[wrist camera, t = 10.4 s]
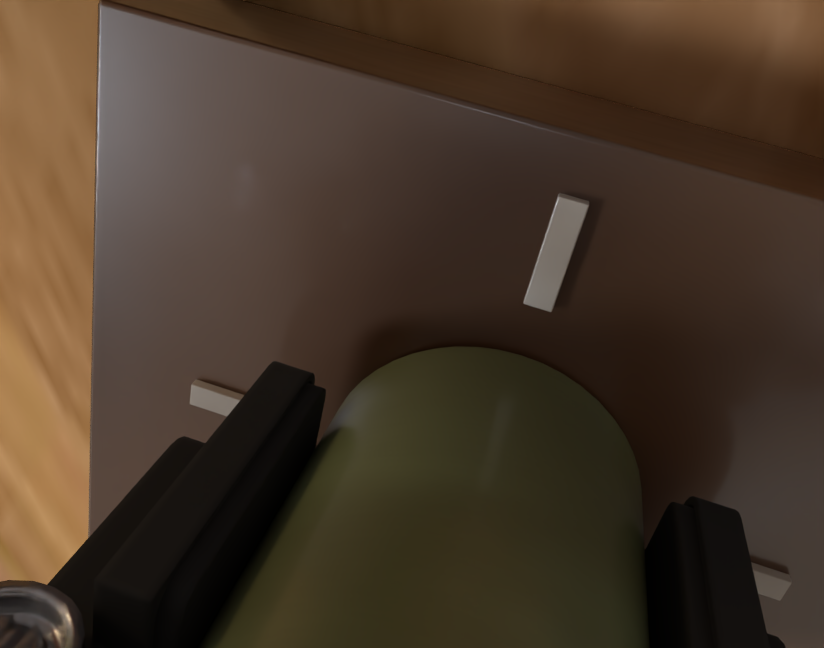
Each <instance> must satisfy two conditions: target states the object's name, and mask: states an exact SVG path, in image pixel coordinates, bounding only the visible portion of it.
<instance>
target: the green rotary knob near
mask: <svg viewBox="0 0 824 648" xmlns="http://www.w3.org/2000/svg"><path fill="white" fill-rule="evenodd" d="M198 648H650V641H649V622H648V602H647V583H646V564H645V545H644V526H643V507H642V489H641V481H640V474H639V469H638V466H637V462H636V459H635V456H634V453H633V451H632V449H631V446H630V444H629V442H628V440H627V438H626V436H625V434H624V433H623V431H622V430H621V428H620V427H619V425H618V424H617V422H616V421H615V419H614V418H613V417H612V416H611V414H610V413H609V412H608V411H607V410H606V409H605V408H604V407H603V406H602V404H601V403H600V402H599V401H598V400H597V399H596V398H594V397H593V396H592V395H591V394H590V393H589V392H587V391H586V390H585V389H584V388H583V387H582V386H580V385H579V384H577V383H576V382H574V381H573V380H571V379H570V378H568V377H567V376H565V375H564V374H562V373H561V372H559V371H557V370H555V369H553V368H551V367H549V366H547V365H545V364H543V363H541V362H538V361H535V360H533V359H530V358H527V357H525V356H522V355H518V354H514V353H510V352H506V351H502V350H498V349H490V348H483V347H462V346H454V347H444V348H435V349H430V350H425V351H421V352H417V353H413V354H410V355H407V356H405V357H402V358H399V359H397V360H394V361H392V362H390V363H388V364H386V365H385V366H383V367H381V368H379V369H377V370H376V371H374V372H373V373H372V374H370V375H369V376H368V377H366V378H365V379H364V380H362V381H361V382H360V383H359V384H358V385H357V386H356V387H355V388H354V389H353V390H352V391H351V392H350V393H349V395H348V396H347V398H346V399H345V400H344V402H343V403H342V405H341V406H340V408H339V409H338V411H337V413H336V414H335V416H334V418H333V419H332V421H331V423H330V424H329V426H328V428H327V429H326V431H325V433H324V435H323V436H322V438H321V440H320V441H319V443H318V445H317V446H316V448H315V450H314V452H313V453H312V455H311V457H310V458H309V460H308V462H307V463H306V465H305V467H304V468H303V470H302V472H301V474H300V475H299V477H298V479H297V480H296V482H295V484H294V485H293V487H292V489H291V490H290V492H289V494H288V496H287V497H286V499H285V501H284V502H283V504H282V506H281V507H280V509H279V511H278V512H277V514H276V516H275V518H274V519H273V521H272V523H271V524H270V526H269V528H268V529H267V531H266V533H265V534H264V536H263V538H262V540H261V541H260V543H259V545H258V546H257V548H256V550H255V551H254V553H253V555H252V556H251V558H250V560H249V562H248V563H247V565H246V567H245V568H244V570H243V572H242V573H241V575H240V577H239V579H238V580H237V582H236V584H235V585H234V587H233V589H232V590H231V592H230V594H229V595H228V597H227V599H226V601H225V602H224V604H223V606H222V607H221V609H220V611H219V612H218V614H217V616H216V617H215V619H214V621H213V623H212V624H211V626H210V628H209V629H208V631H207V633H206V634H205V636H204V638H203V639H202V641H201V643H200V645H199V646H198Z"/></svg>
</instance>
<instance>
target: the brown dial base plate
mask: <svg viewBox="0 0 824 648" xmlns="http://www.w3.org/2000/svg"><path fill="white" fill-rule="evenodd" d="M454 346H462V347H483V348H490V349H498V350H502V351H506V352H510V353H514V354H518V355H522V356H525V357H527V358H530V359H533V360H535V361H538V362H541V363H543V364H545V365H547V366H549V367H551V368H553V369H555V370H557V371H559V372H561V373H562V374H564V375H565V376H567V377H568V378H570V379H571V380H573V381H574V382H576V383H577V384H579V385H580V386H582V387H583V388H584V389H585V390H586V391H587V392H589V393H590V394H591V395H592V396H593V397H594V398H596V399H597V400H598V401H599V402H600V403H601V404H602V406H603V407H604V408H605V409H606V410H607V411H608V412H609V413H610V414H611V416H612V417H613V418H614V419H615V421H616V422H617V424H618V425H619V427H620V428H621V430H622V431H623V433H624V434H625V436H626V438H627V440H628V442H629V444H630V446H631V449H632V451H633V453H634V456H635V459H636V462H637V466H638V469H639V474H640V481H641V489H642V507H643V526H644V545H645V549H646V547H647V545H648V543H649V541H650V540H651V538H652V536H653V534H654V532H655V530H656V528H657V526H658V524H659V522H660V520H661V518H662V516H663V514H664V512H665V510H666V508H667V507H668V505H669V504H670V503H671V502H676V503H679V504H682V505H683V504H684V503H685V501H686V500H687V499H688V498H689V497H691V496H695V497H698V498H701V499H704V500H707V501H710V502H713V503H717V504H720V505H723V506H726V507H729V508H732V509H735V510H737V511H738V512H739V513H740V516H741V519H742V523H743V528H744V532H745V537H746V541H747V546H748V550H749V555H750V559H751V564H752V568H753V573H754V577H755V582H756V586H757V591H758V595H759V600H760V604H761V609H762V613H763V618H764V622H765V627H766V631H767V633H768V634H771V635H774V636H777V637H779V639H780V640H781V641H782V642H783V643H784V644H785V647H786V648H824V159H820V158H816V157H813V156H809V155H805V154H802V153H798V152H794V151H791V150H787V149H783V148H780V147H776V146H772V145H769V144H765V143H761V142H758V141H754V140H750V139H747V138H743V137H739V136H736V135H732V134H728V133H725V132H721V131H717V130H714V129H710V128H706V127H703V126H699V125H695V124H692V123H688V122H684V121H681V120H677V119H673V118H670V117H666V116H662V115H659V114H655V113H652V112H648V111H644V110H641V109H637V108H633V107H630V106H626V105H622V104H619V103H615V102H611V101H608V100H604V99H600V98H597V97H593V96H589V95H586V94H582V93H578V92H575V91H571V90H567V89H564V88H560V87H556V86H553V85H549V84H545V83H542V82H538V81H534V80H531V79H527V78H523V77H520V76H516V75H512V74H509V73H505V72H501V71H498V70H494V69H490V68H487V67H483V66H479V65H476V64H472V63H468V62H465V61H461V60H457V59H454V58H450V57H446V56H443V55H439V54H435V53H432V52H428V51H425V50H421V49H417V48H414V47H410V46H406V45H403V44H399V43H395V42H392V41H388V40H384V39H381V38H377V37H373V36H370V35H366V34H362V33H359V32H355V31H351V30H348V29H344V28H340V27H337V26H333V25H329V24H326V23H322V22H318V21H315V20H311V19H307V18H304V17H300V16H296V15H293V14H289V13H285V12H282V11H278V10H274V9H271V8H267V7H263V6H260V5H256V4H252V3H249V2H245V1H241V0H100V1H99V4H98V44H97V98H96V152H95V207H94V261H93V315H92V369H91V424H90V478H89V532H88V538H89V537H90V536H91V535H92V534H93V532H94V531H95V530H96V529H97V528H98V527H99V526H100V524H101V523H102V522H103V521H104V520H105V519H106V518H107V517H108V515H109V514H110V513H111V512H112V511H113V510H114V509H115V507H116V506H117V505H118V504H119V503H120V502H121V501H122V500H123V498H124V497H125V496H126V495H127V494H128V493H129V492H130V490H131V489H132V488H133V487H134V486H135V485H136V484H137V483H138V481H139V480H140V479H141V478H142V477H143V476H144V475H145V473H146V472H147V471H148V470H149V469H150V468H151V467H152V466H153V464H154V463H155V462H156V461H157V460H158V459H159V458H160V456H161V455H162V454H163V453H164V452H165V451H166V450H167V448H168V447H169V446H170V445H171V444H172V443H173V442H175V441H176V440H177V439H178V438H180V437H183V436H186V437H189V438H192V439H195V440H198V441H201V442H204V443H206V442H207V441H208V439H209V438H210V437H211V436H212V434H213V433H214V432H215V431H216V429H217V428H218V427H219V426H220V425H221V423H222V422H223V421H224V420H225V418H226V417H227V416H228V415H229V414H230V412H231V411H232V410H233V409H234V407H235V406H236V405H237V404H238V403H239V401H240V400H241V399H242V398H243V396H244V395H245V394H246V393H247V391H248V390H249V389H250V388H251V387H252V385H253V384H254V383H255V382H256V380H257V379H258V378H259V377H260V376H261V374H262V373H263V372H264V371H265V369H266V368H267V367H268V366H269V365H270V364H271V363H272V362H273V361H277V362H280V363H283V364H287V365H290V366H293V367H296V368H299V369H302V370H305V371H308V372H311V373H314V375H315V384H314V385H316V386H319V387H322V388H325V389H326V397H325V402H324V407H323V412H322V417H321V422H320V428H319V433H318V438H317V443H316V446H317V445H318V443H319V441H320V440H321V438H322V436H323V435H324V433H325V431H326V429H327V428H328V426H329V424H330V423H331V421H332V419H333V418H334V416H335V414H336V413H337V411H338V409H339V408H340V406H341V405H342V403H343V402H344V400H345V399H346V398H347V396H348V395H349V393H350V392H351V391H352V390H353V389H354V388H355V387H356V386H357V385H358V384H359V383H360V382H361V381H362V380H364V379H365V378H366V377H368V376H369V375H370V374H372V373H373V372H374V371H376V370H377V369H379V368H381V367H383V366H385V365H386V364H388V363H390V362H392V361H394V360H397V359H399V358H402V357H405V356H407V355H410V354H413V353H417V352H421V351H425V350H430V349H435V348H444V347H454Z"/></svg>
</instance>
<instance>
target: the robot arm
mask: <svg viewBox="0 0 824 648" xmlns="http://www.w3.org/2000/svg"><path fill="white" fill-rule="evenodd" d="M314 384H315V375H314V373H311V372H308V371H305V370H302V369H299V368H296V367H293V366H290V365H287V364H283V363H280V362H277V361H273V362H272V363H271V364H270V365H269V366H268V367H267V368H266V369H265V371H264V372H263V373H262V374H261V376H260V377H259V378H258V379H257V380H256V382H255V383H254V384H253V385H252V387H251V388H250V389H249V390H248V391H247V393H246V394H245V395H244V396H243V398H242V399H241V400H240V401H239V403H238V404H237V405H236V406H235V407H234V409H233V410H232V411H231V412H230V414H229V415H228V416H227V417H226V418H225V420H224V421H223V422H222V423H221V425H220V426H219V427H218V428H217V429H216V431H215V432H214V433H213V434H212V436H211V437H210V438H209V439H208V441H207V442H206V443H204V442H201V441H198V440H195V439H192V438H189V437H186V436H183V437H180V438H178V439H177V440H176V441H175V442H173V443H172V444H171V445H170V446H169V447H168V448H167V450H166V451H165V452H164V453H163V454H162V455H161V456H160V458H159V459H158V460H157V461H156V462H155V463H154V464H153V466H152V467H151V468H150V469H149V470H148V471H147V472H146V473H145V475H144V476H143V477H142V478H141V479H140V480H139V481H138V483H137V484H136V485H135V486H134V487H133V488H132V489H131V490H130V492H129V493H128V494H127V495H126V496H125V497H124V498H123V500H122V501H121V502H120V503H119V504H118V505H117V506H116V507H115V509H114V510H113V511H112V512H111V513H110V514H109V515H108V517H107V518H106V519H105V520H104V521H103V522H102V523H101V524H100V526H99V527H98V528H97V529H96V530H95V531H94V532H93V534H92V535H91V536H90V537H89V538H88V539H87V540H86V541H85V543H84V544H83V545H82V546H81V547H80V548H79V549H78V551H77V552H76V553H75V554H74V555H73V556H72V557H71V558H70V560H69V561H68V562H67V563H66V564H65V565H64V566H63V568H62V569H61V570H60V571H59V572H58V573H57V574H56V575H55V577H54V578H53V579H52V580H51V581H50V582H49V583H48V585H45V584H42V583H38V582H35V581H17V580H7V581H2V582H0V648H198V646H199V645H200V643H201V641H202V639H203V638H204V636H205V634H206V633H207V631H208V629H209V628H210V626H211V624H212V623H213V621H214V619H215V617H216V616H217V614H218V612H219V611H220V609H221V607H222V606H223V604H224V602H225V601H226V599H227V597H228V595H229V594H230V592H231V590H232V589H233V587H234V585H235V584H236V582H237V580H238V579H239V577H240V575H241V573H242V572H243V570H244V568H245V567H246V565H247V563H248V562H249V560H250V558H251V556H252V555H253V553H254V551H255V550H256V548H257V546H258V545H259V543H260V541H261V540H262V538H263V536H264V534H265V533H266V531H267V529H268V528H269V526H270V524H271V523H272V521H273V519H274V518H275V516H276V514H277V512H278V511H279V509H280V507H281V506H282V504H283V502H284V501H285V499H286V497H287V496H288V494H289V492H290V490H291V489H292V487H293V485H294V484H295V482H296V480H297V479H298V477H299V475H300V474H301V472H302V470H303V468H304V467H305V465H306V463H307V462H308V460H309V458H310V457H311V455H312V453H313V452H314V450H315V448H316V443H317V438H318V433H319V428H320V422H321V417H322V412H323V407H324V402H325V397H326V389H325V388H322V387H319V386H316V385H314ZM645 564H646V583H647V602H648V622H649V641H650V648H786V647H785V644H784V643H783V642H782V641H781V640H780V639H779V637H777V636H774V635H771V634H768V633H767V631H766V627H765V622H764V618H763V613H762V609H761V604H760V600H759V595H758V591H757V586H756V582H755V577H754V573H753V568H752V564H751V559H750V555H749V550H748V546H747V541H746V537H745V532H744V528H743V523H742V519H741V516H740V513H739V512H738V511H737V510H735V509H732V508H729V507H726V506H723V505H720V504H717V503H713V502H710V501H707V500H704V499H701V498H698V497H695V496H691V497H689V498H688V499H687V500H686V501H685V503H684V504H683V505H682V504H679V503H676V502H671V503H670V504H669V505H668V507H667V508H666V510H665V512H664V514H663V516H662V518H661V520H660V522H659V524H658V526H657V528H656V530H655V532H654V534H653V536H652V538H651V540H650V541H649V543H648V545H647V547H646V549H645Z"/></svg>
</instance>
